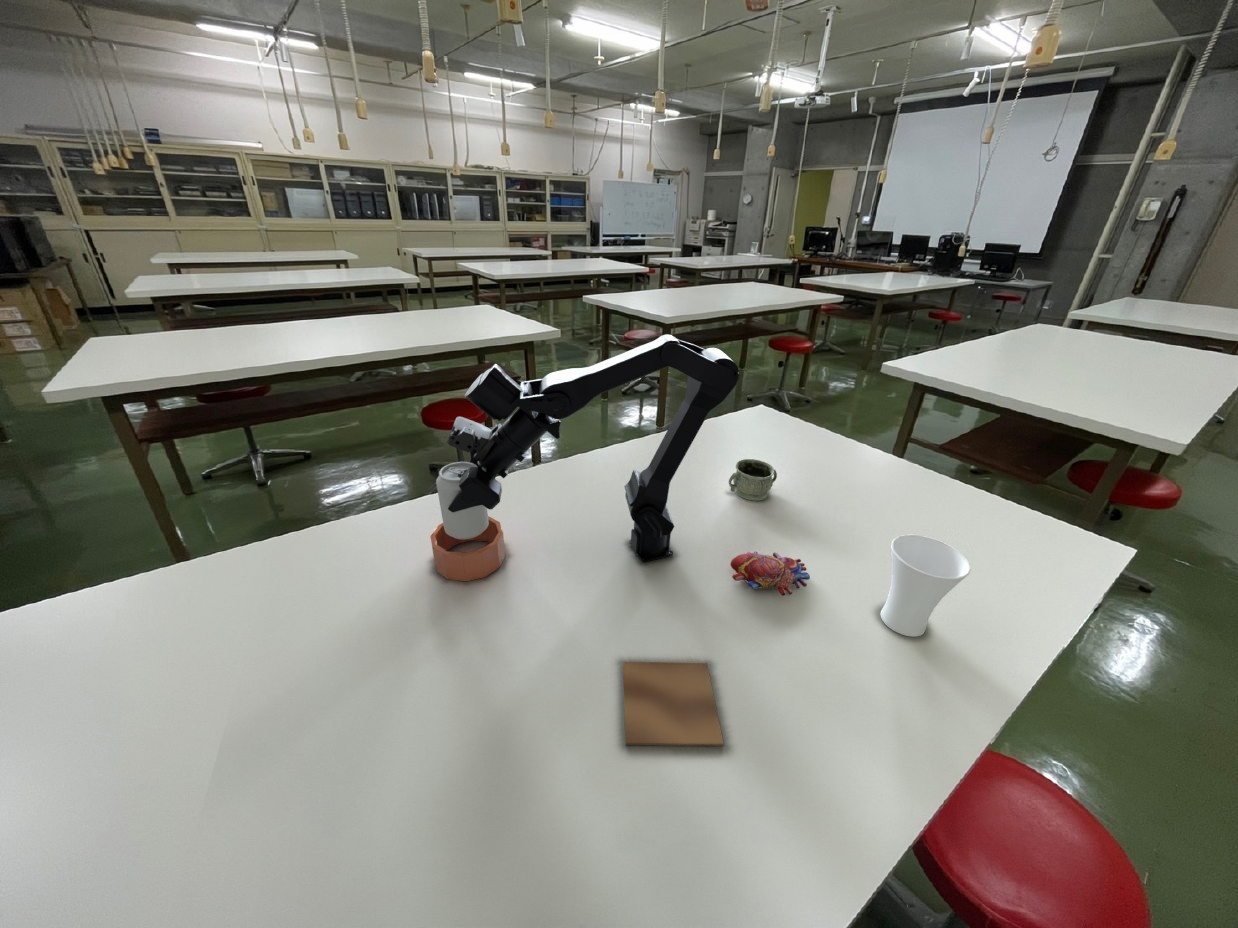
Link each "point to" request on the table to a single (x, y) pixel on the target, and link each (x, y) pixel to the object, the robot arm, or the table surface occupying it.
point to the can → (462, 521)
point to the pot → (468, 554)
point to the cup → (920, 581)
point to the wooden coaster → (669, 704)
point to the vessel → (752, 479)
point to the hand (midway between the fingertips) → (454, 497)
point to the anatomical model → (769, 571)
